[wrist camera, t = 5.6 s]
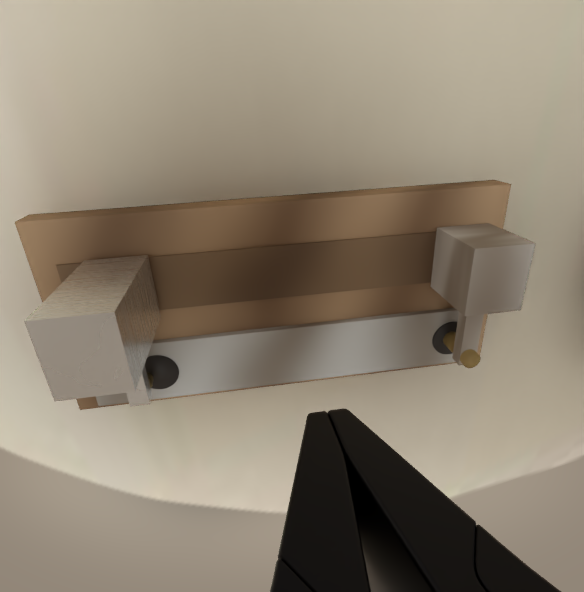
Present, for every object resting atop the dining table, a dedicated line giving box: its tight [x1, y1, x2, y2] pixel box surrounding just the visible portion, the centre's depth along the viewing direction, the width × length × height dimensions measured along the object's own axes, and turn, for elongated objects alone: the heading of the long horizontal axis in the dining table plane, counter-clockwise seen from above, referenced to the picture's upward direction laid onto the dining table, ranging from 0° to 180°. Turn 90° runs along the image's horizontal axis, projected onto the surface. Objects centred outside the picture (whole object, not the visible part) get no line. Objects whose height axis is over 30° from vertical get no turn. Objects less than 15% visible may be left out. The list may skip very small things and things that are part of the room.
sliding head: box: [24, 255, 161, 406], centre depth 15 cm, size 2×6×5 cm, turn 3°
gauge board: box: [15, 180, 536, 410], centre depth 17 cm, size 20×9×4 cm, turn 93°
